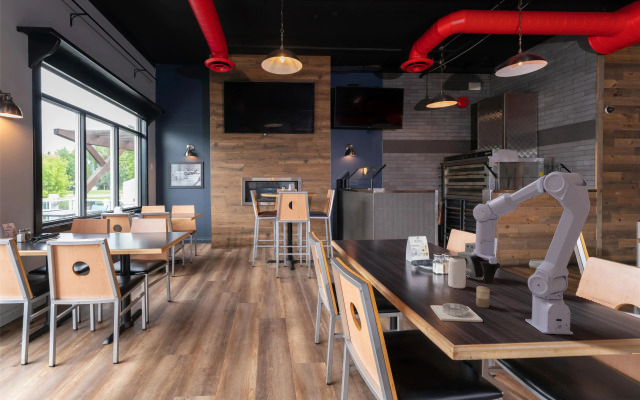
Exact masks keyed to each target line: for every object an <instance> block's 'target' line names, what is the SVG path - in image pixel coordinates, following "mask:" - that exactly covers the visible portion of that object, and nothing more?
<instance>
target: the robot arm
mask: <svg viewBox="0 0 640 400" xmlns="http://www.w3.org/2000/svg"><path fill="white" fill-rule="evenodd" d="M589 186H590V183H588V181H587V180H586V179H585V178H584V176H582V175H581V174H580V173H578V172H562V171H552V172H550V173H548V174H547V175H546V174H544V175H543V176H540V177H539V178H538V179H537V180H535V181H533V182H531V183H528V185H526V186H524V187H522V188H521V189H519V190H517V191H515V192H513V193H509V192H501V193H499V194H498V196H497V197H495V198H494V199H489V200H487V201H486V203H485V204H484V203H478V204H476V206H475V207H474V208H473V210H472V215H473V217H474V220H476V222H475V223H476V226H475V227H476V229H475V242H476V247H475V249H474V252H472V255H474V256H470V258H471V260H472V263H473V266H474V271H475V276H476V277H480V278H482V277H484V280H483V283H484V284H487V285H492V283H494V279H495V275H496V273H497V271H498V269H499V268H500V266H501V264H500V263H499V262H498V258H497V257H496V254H495V245H496V244H495V242H496V241H495V239H496V225H497V221H498V220H499V218H500V217H502V216H503V215H506V214H508V213H510V212H512V211H514V210H516V209H517V208H518V206H519V204H520V203H522V202H525V201H528V200H529V199H532V198H535V197H537V196H539V195H541V194H549V195H550V196H552V197H553V198H554V199H555V200H557V202H558V203H559V204H560V205H561V207H562V208H563V210H562V214H561V216H560V218H559V220H558V221H559V222H558V225H557V227H556V229H555V232H554V234H553V238H552V240H551V243H550V244H549V248H548V249H547V252H546V255H545V256H544V259H543V260H544V262H543V263H541V264H540V265H539V266H538V267H537V269H536V271H535V273H534V274H533V275H531V274H530V276H529V277H528V279H527V286H528V289H529V290H530V292H531V294H532V295H531V296H532V299H531V300H532V305H531V306H532V307H531V308H532V309H531V318H525V322H527V323H528V324H529V325H530V326H532V327H533V328H534V329H537V330H538V331H539V332H540V333H542V334H549V335H550V334H551V335H552V334H555V335H574V332H573V331H571V310H570V307H569V306H568V305H567V304H566V303H565V301H564V295H563V294H564V293H563V292H565V291H566V290H567V289H568V287H569V286H568V285H569V281H568V276H569V273H570V272H569V270H568V268H567V266H568V264H569V262H570V259H571V257H572V255H573V252H574V250H575V247H576V246H577V242H578V240H579V237H580V236H581V233H582V230H583V228H584V226H585V224H586V221H587V218H588V217H589V213H590V211H591V206H592V205H591V200H590V196H589V195H590V194H589V190H588V189H589Z"/></svg>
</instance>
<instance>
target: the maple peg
mask: <svg viewBox="0 0 640 400" xmlns="http://www.w3.org/2000/svg"><path fill="white" fill-rule="evenodd" d="M475 292H476V293H475V294H476V296H475V297H476V298H475V305H476V306H477V307H479V308H483V309H488V308H490V298H491V297H490V294H491V293H490V287H487V286H482V285H481V286H479V285H478V286H476V291H475Z"/></svg>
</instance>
